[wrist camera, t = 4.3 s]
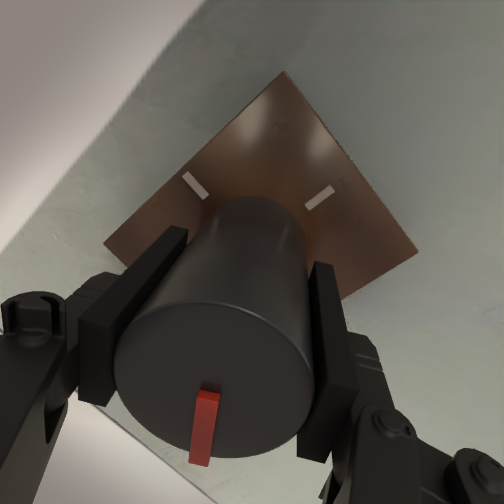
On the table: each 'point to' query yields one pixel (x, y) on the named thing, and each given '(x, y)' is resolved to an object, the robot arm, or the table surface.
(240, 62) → the table surface
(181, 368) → the dial
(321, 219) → the knob panel
